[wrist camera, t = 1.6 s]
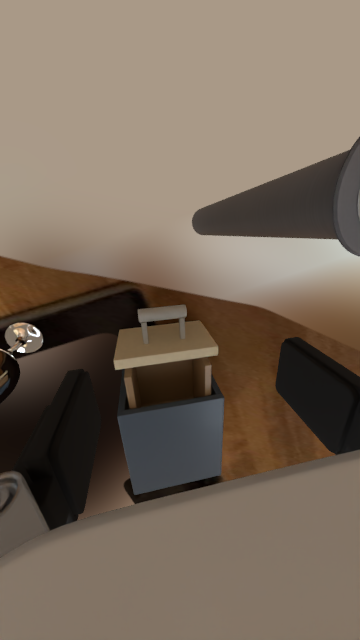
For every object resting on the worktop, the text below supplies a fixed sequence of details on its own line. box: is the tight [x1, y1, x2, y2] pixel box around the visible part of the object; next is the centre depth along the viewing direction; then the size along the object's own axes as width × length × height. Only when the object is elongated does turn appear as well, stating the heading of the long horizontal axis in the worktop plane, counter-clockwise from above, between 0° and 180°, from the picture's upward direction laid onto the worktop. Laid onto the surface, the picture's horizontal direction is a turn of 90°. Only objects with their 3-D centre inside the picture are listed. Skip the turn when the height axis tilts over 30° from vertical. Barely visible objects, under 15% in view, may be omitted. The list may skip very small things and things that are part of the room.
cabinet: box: [117, 369, 224, 495], centre depth 32 cm, size 15×13×10 cm
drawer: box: [114, 305, 218, 409], centre depth 28 cm, size 18×11×8 cm, turn 3°
